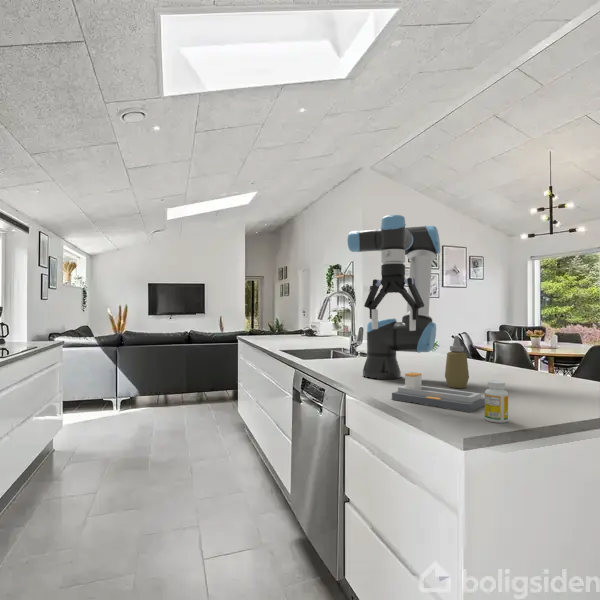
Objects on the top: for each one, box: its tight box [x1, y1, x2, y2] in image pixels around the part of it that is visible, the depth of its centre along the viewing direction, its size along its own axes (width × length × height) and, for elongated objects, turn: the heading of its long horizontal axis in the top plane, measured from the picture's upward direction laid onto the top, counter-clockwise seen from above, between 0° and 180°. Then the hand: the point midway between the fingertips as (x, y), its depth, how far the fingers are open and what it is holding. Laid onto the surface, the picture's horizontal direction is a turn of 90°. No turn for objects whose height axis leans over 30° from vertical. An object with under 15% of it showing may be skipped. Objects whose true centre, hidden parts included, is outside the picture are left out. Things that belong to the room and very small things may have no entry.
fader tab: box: [404, 372, 422, 390], centre depth 136 cm, size 3×4×5 cm
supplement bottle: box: [484, 380, 509, 424], centre depth 110 cm, size 5×5×10 cm
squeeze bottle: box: [444, 335, 470, 389], centre depth 156 cm, size 8×8×18 cm
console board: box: [391, 385, 485, 413], centre depth 131 cm, size 24×12×4 cm, turn 48°
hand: (393, 329), depth 142 cm, fingers open, 13 cm apart
